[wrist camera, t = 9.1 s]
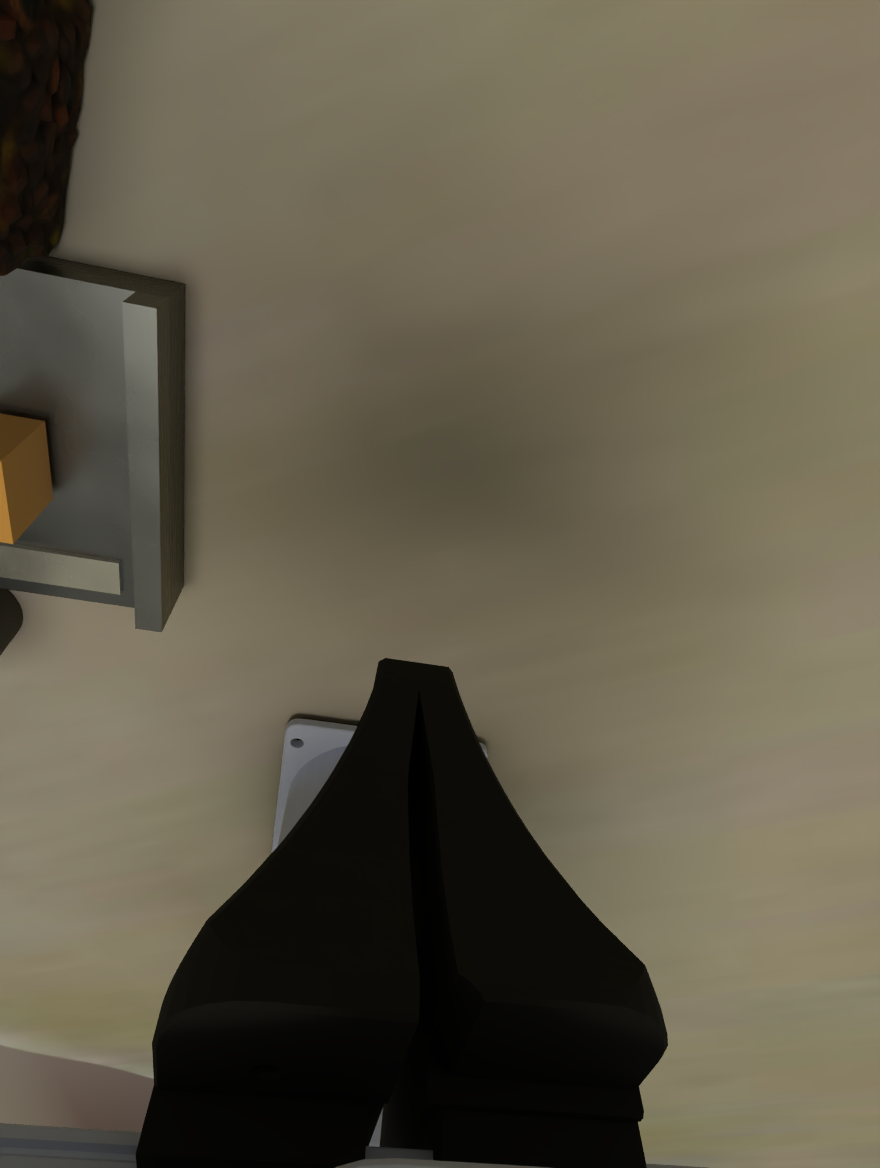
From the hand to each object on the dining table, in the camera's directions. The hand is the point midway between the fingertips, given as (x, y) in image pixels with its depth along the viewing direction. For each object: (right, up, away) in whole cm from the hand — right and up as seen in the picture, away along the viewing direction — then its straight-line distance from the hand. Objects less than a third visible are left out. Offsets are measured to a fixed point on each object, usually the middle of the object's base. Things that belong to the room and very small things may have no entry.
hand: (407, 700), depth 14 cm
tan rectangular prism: (-11, +6, +6) cm, 14 cm away
